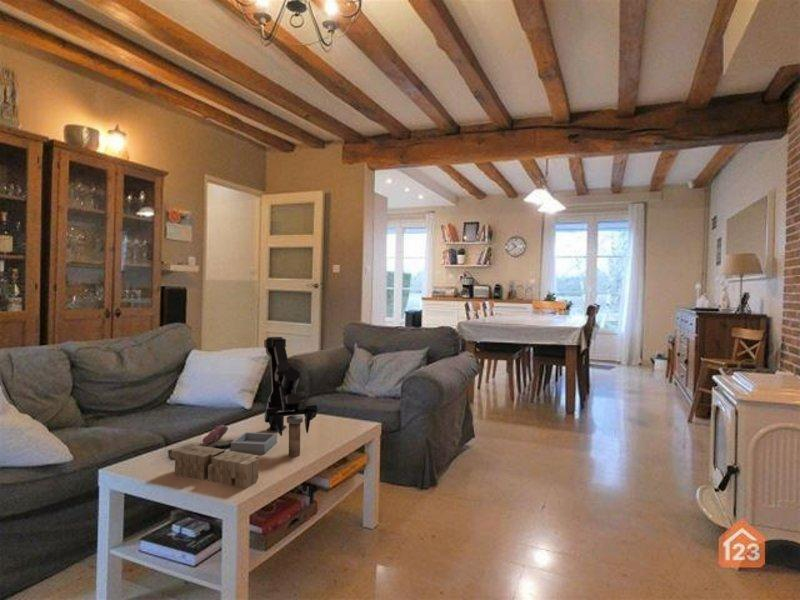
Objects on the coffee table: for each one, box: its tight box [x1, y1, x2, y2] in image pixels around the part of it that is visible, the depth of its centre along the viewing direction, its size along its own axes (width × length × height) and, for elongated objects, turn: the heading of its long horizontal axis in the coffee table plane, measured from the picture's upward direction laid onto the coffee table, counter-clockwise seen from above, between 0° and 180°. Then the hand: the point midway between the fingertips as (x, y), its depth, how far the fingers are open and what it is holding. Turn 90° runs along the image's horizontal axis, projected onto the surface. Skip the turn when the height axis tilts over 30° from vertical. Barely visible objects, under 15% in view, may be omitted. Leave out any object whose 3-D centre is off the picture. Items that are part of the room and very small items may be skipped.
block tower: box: [170, 442, 260, 489], centre depth 152 cm, size 8×8×29 cm
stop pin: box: [286, 415, 304, 458], centre depth 172 cm, size 6×6×14 cm
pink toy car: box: [202, 424, 229, 444], centre depth 186 cm, size 10×5×7 cm, turn 169°
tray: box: [230, 431, 278, 455], centre depth 179 cm, size 13×13×4 cm
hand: (294, 433), depth 172 cm, fingers open, 9 cm apart
